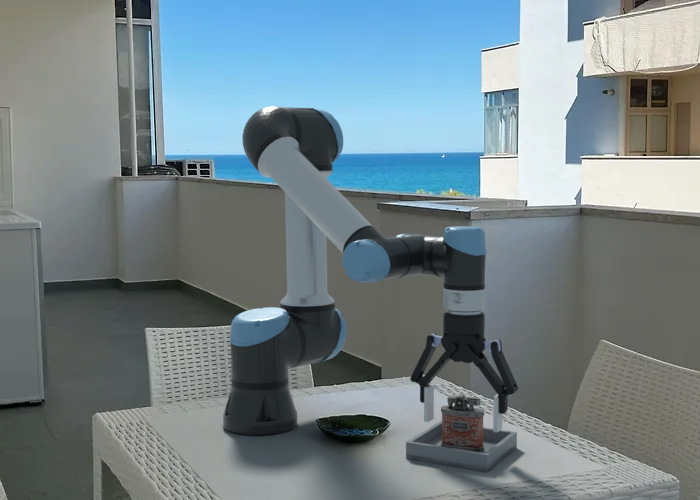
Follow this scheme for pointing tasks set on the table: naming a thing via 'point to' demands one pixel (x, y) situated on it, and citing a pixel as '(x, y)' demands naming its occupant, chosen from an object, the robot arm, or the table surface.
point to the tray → (431, 450)
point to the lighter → (462, 424)
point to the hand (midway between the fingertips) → (462, 425)
